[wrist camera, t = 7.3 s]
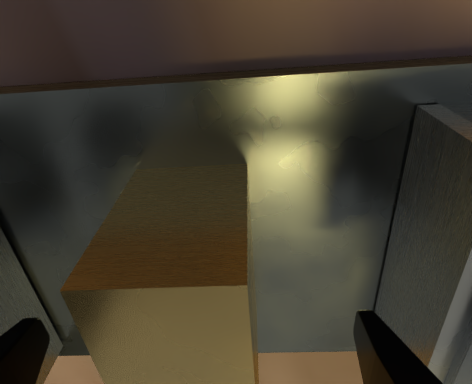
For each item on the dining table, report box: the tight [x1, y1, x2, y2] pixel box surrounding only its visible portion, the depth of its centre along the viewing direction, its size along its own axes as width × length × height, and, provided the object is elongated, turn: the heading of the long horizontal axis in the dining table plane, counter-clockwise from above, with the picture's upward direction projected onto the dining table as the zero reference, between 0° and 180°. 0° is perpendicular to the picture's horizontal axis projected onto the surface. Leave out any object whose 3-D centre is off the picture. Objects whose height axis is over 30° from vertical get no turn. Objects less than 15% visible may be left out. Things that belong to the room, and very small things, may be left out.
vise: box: [0, 56, 472, 384], centre depth 11 cm, size 27×12×5 cm, turn 94°
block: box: [60, 164, 259, 384], centre depth 10 cm, size 4×7×5 cm, turn 4°
